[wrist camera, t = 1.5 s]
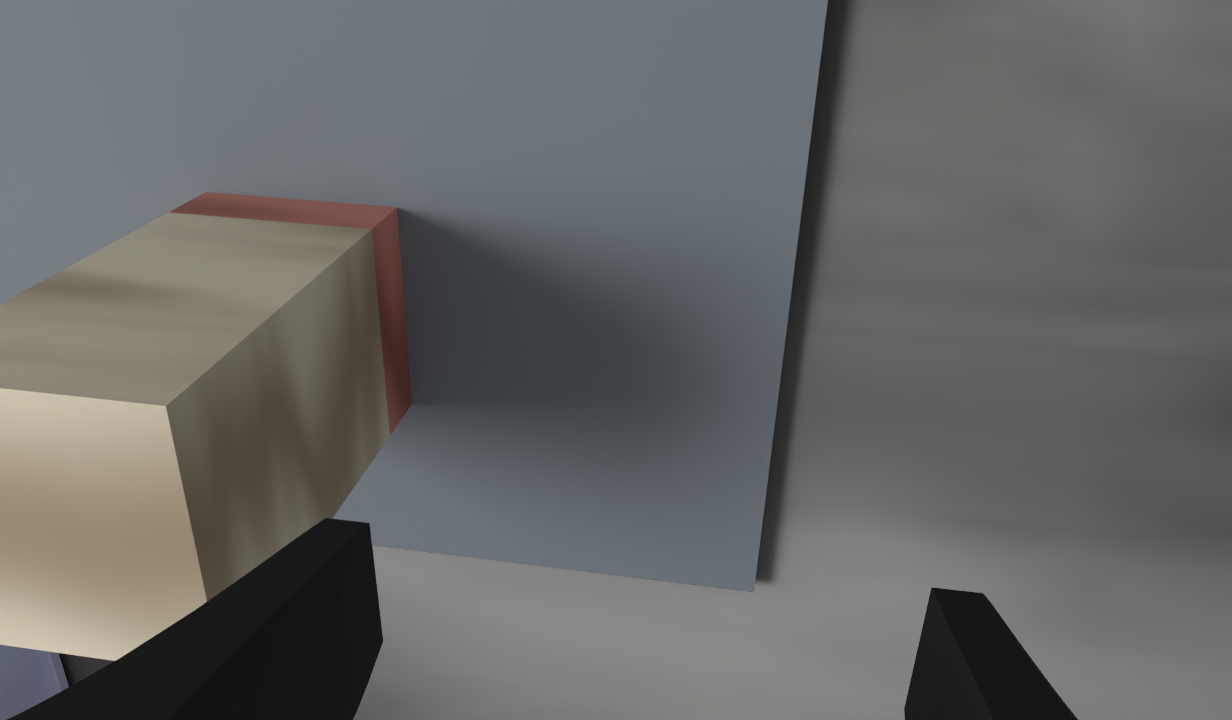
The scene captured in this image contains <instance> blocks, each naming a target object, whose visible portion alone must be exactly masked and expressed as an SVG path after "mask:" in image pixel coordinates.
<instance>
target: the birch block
mask: <svg viewBox="0 0 1232 720" xmlns="http://www.w3.org/2000/svg"><path fill="white" fill-rule="evenodd" d="M411 405H412V399H411V386H410V373H409V359H408V346H407V333H406V320H405V306H404V293H403V280H402V267H401V254H400V240H399V227H398V214H397V207H388V206H375V205H363V204H350V203H337V202H325V201H312V200H299V199H287V198H274V197H262V196H249V195H236V194H224V193H211V192H205V193H203V194H201V195H199V196H198V197H196V198H194V199H192V200H190V201H188V202H187V203H185V204H183V205H181V206H179V207H177V208H176V209H174V210H172V211H170V212H168V213H166V214H164V215H163V216H161V217H159V218H157V219H155V220H153V221H152V222H150V223H148V224H146V225H144V226H142V227H141V228H139V229H137V230H135V231H133V232H131V233H130V234H128V235H126V236H124V237H122V238H120V239H119V240H117V241H115V242H113V243H111V244H109V245H108V246H106V247H104V248H102V249H100V250H98V251H97V252H95V253H93V254H91V255H89V256H87V257H86V258H84V259H82V260H80V261H78V262H76V263H75V264H73V265H71V266H69V267H67V268H65V269H63V270H62V271H60V272H58V273H56V274H54V275H52V276H51V277H49V278H47V279H45V280H43V281H41V282H40V283H38V284H36V285H34V286H32V287H30V288H29V289H27V290H25V291H23V292H21V293H19V294H18V295H16V296H14V297H12V298H10V299H8V300H7V301H5V302H3V303H1V304H0V645H7V646H14V647H21V648H28V649H35V650H42V651H49V652H56V653H63V654H70V655H77V656H84V657H91V658H98V659H105V660H112V661H116V660H118V659H119V658H121V657H123V656H124V655H126V654H127V653H129V652H130V651H132V650H134V649H135V648H137V647H138V646H140V645H141V644H143V643H144V642H146V641H148V640H149V639H151V638H152V637H154V636H155V635H157V634H158V633H160V632H162V631H163V630H165V629H166V628H168V627H169V626H171V625H172V624H174V623H176V622H177V621H179V620H180V619H182V618H183V617H185V616H186V615H188V614H190V613H191V612H193V611H194V610H196V609H197V608H199V607H200V606H202V605H203V604H204V603H206V602H207V601H209V600H210V599H212V598H213V597H214V596H216V595H217V594H219V593H220V592H222V591H223V590H224V589H226V588H227V587H229V586H230V585H232V584H233V583H234V582H236V581H237V580H239V579H240V578H242V577H243V576H244V575H246V574H247V573H249V572H250V571H251V570H253V569H254V568H256V567H257V566H258V565H260V564H261V563H263V562H264V561H265V560H267V559H268V558H270V557H271V556H272V555H274V554H275V553H276V552H278V551H279V550H281V549H282V548H283V547H285V546H286V545H288V544H289V543H290V542H292V541H293V540H294V539H296V538H297V537H299V536H300V535H301V534H303V533H304V532H306V531H307V530H309V529H310V528H311V527H313V526H314V525H316V524H317V523H319V522H320V521H322V520H324V519H325V518H331V519H333V517H334V516H335V514H336V513H337V511H338V510H339V509H340V507H341V506H342V504H343V503H344V501H345V500H346V498H347V497H348V496H349V494H350V493H351V491H352V490H353V488H354V487H355V485H356V484H357V483H358V481H359V480H360V478H361V477H362V475H363V474H364V473H365V471H366V470H367V468H368V467H369V465H370V464H371V462H372V461H373V460H374V458H375V457H376V455H377V454H378V452H379V451H380V450H381V448H382V447H383V445H384V444H385V442H386V441H387V439H388V438H389V437H390V435H391V434H392V432H393V431H394V429H395V428H396V426H397V425H398V424H399V422H400V421H401V419H402V418H403V416H404V415H405V414H406V412H407V411H408V409H409V408H410V406H411Z"/></svg>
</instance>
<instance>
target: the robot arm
mask: <svg viewBox="0 0 1232 720" xmlns="http://www.w3.org/2000/svg"><path fill="white" fill-rule="evenodd" d="M382 643H383V637H382V628H381V619H380V610H379V602H378V593H377V584H376V575H375V567H374V558H373V549H372V540H371V531H370V523H365V522H357V521H348V520H339V519H331V518H325V519H324V520H322V521H320V522H319V523H317V524H316V525H314V526H313V527H311V528H310V529H309V530H307V531H306V532H304V533H303V534H301V535H300V536H299V537H297V538H296V539H294V540H293V541H292V542H290V543H289V544H288V545H286V546H285V547H283V548H282V549H281V550H279V551H278V552H276V553H275V554H274V555H272V556H271V557H270V558H268V559H267V560H265V561H264V562H263V563H261V564H260V565H258V566H257V567H256V568H254V569H253V570H251V571H250V572H249V573H247V574H246V575H244V576H243V577H242V578H240V579H239V580H237V581H236V582H234V583H233V584H232V585H230V586H229V587H227V588H226V589H224V590H223V591H222V592H220V593H219V594H217V595H216V596H214V597H213V598H212V599H210V600H209V601H207V602H206V603H204V604H203V605H202V606H200V607H199V608H197V609H196V610H194V611H193V612H191V613H190V614H188V615H186V616H185V617H183V618H182V619H180V620H179V621H177V622H176V623H174V624H172V625H171V626H169V627H168V628H166V629H165V630H163V631H162V632H160V633H158V634H157V635H155V636H154V637H152V638H151V639H149V640H148V641H146V642H144V643H143V644H141V645H140V646H138V647H137V648H135V649H134V650H132V651H130V652H129V653H127V654H126V655H124V656H123V657H121V658H119V659H118V660H116V661H114V662H112V663H111V664H109V665H107V666H106V667H104V668H102V669H101V670H99V671H97V672H95V673H94V674H92V675H90V676H88V677H87V678H85V679H83V680H81V681H80V682H78V683H76V684H74V685H72V686H70V687H69V685H68V682H67V679H66V676H65V672H64V669H63V666H62V663H61V660H60V656H59V653H56V652H49V651H42V650H35V649H28V648H21V647H14V646H7V645H0V720H353V718H354V716H355V714H356V712H357V709H358V707H359V704H360V702H361V699H362V697H363V694H364V691H365V689H366V686H367V684H368V681H369V679H370V676H371V673H372V670H373V667H374V665H375V662H376V659H377V656H378V654H379V651H380V648H381V645H382ZM904 711H905V720H1078V719H1077V718H1076V717H1075V715H1074V714H1073V713H1072V712H1071V710H1070V709H1069V708H1068V707H1067V705H1066V704H1065V703H1064V702H1063V700H1062V699H1061V698H1060V696H1059V695H1058V694H1057V693H1056V691H1055V690H1054V689H1053V687H1052V686H1051V685H1050V683H1049V682H1048V681H1047V679H1046V678H1045V677H1044V675H1043V674H1042V673H1041V671H1040V670H1039V669H1038V667H1037V666H1036V665H1035V663H1034V662H1033V660H1032V659H1031V658H1030V656H1029V655H1028V654H1027V652H1026V651H1025V650H1024V648H1023V647H1022V645H1021V644H1020V643H1019V641H1018V640H1017V639H1016V637H1015V636H1014V634H1013V633H1012V632H1011V630H1010V629H1009V627H1008V626H1007V625H1006V623H1005V622H1004V620H1003V619H1002V618H1001V616H1000V615H999V613H998V612H997V611H996V609H995V608H994V607H993V605H992V604H991V602H990V601H989V600H988V599H987V597H986V596H985V595H984V594H983V593H975V592H966V591H957V590H949V589H940V588H931V593H930V597H929V602H928V606H927V610H926V615H925V619H924V624H923V628H922V633H921V637H920V642H919V646H918V651H917V655H916V660H915V664H914V668H913V673H912V677H911V682H910V686H909V691H908V695H907V700H906V704H905V709H904Z"/></svg>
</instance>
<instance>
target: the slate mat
mask: <svg viewBox="0 0 1232 720" xmlns="http://www.w3.org/2000/svg"><path fill="white" fill-rule="evenodd" d="M827 4H828V0H0V304H1V303H3V302H5V301H7V300H8V299H10V298H12V297H14V296H16V295H18V294H19V293H21V292H23V291H25V290H27V289H29V288H30V287H32V286H34V285H36V284H38V283H40V282H41V281H43V280H45V279H47V278H49V277H51V276H52V275H54V274H56V273H58V272H60V271H62V270H63V269H65V268H67V267H69V266H71V265H73V264H75V263H76V262H78V261H80V260H82V259H84V258H86V257H87V256H89V255H91V254H93V253H95V252H97V251H98V250H100V249H102V248H104V247H106V246H108V245H109V244H111V243H113V242H115V241H117V240H119V239H120V238H122V237H124V236H126V235H128V234H130V233H131V232H133V231H135V230H137V229H139V228H141V227H142V226H144V225H146V224H148V223H150V222H152V221H153V220H155V219H157V218H159V217H161V216H163V215H164V214H166V213H168V212H170V211H172V210H174V209H176V208H177V207H179V206H181V205H183V204H185V203H187V202H188V201H190V200H192V199H194V198H196V197H198V196H199V195H201V194H203V193H205V192H211V193H224V194H236V195H249V196H262V197H274V198H287V199H299V200H312V201H325V202H337V203H350V204H363V205H375V206H388V207H397V214H398V227H399V240H400V254H401V267H402V280H403V293H404V306H405V320H406V333H407V346H408V359H409V373H410V386H411V399H412V405H411V406H410V408H409V409H408V411H407V412H406V414H405V415H404V416H403V418H402V419H401V421H400V422H399V424H398V425H397V426H396V428H395V429H394V431H393V432H392V434H391V435H390V437H389V438H388V439H387V441H386V442H385V444H384V445H383V447H382V448H381V450H380V451H379V452H378V454H377V455H376V457H375V458H374V460H373V461H372V462H371V464H370V465H369V467H368V468H367V470H366V471H365V473H364V474H363V475H362V477H361V478H360V480H359V481H358V483H357V484H356V485H355V487H354V488H353V490H352V491H351V493H350V494H349V496H348V497H347V498H346V500H345V501H344V503H343V504H342V506H341V507H340V509H339V510H338V511H337V513H336V514H335V516H334V517H333V519H339V520H348V521H357V522H365V523H370V531H371V540H372V545H374V546H383V547H391V548H399V549H407V550H415V551H423V552H431V553H439V554H448V555H456V556H464V557H472V558H480V559H488V560H496V561H504V562H513V563H521V564H529V565H537V566H545V567H553V568H561V569H569V570H577V571H586V572H594V573H602V574H610V575H618V576H626V577H634V578H642V579H651V580H659V581H667V582H675V583H683V584H691V585H699V586H707V587H716V588H724V589H732V590H740V591H748V592H754V587H755V579H756V571H757V563H758V555H759V547H760V539H761V531H762V523H763V515H764V507H765V499H766V491H767V483H768V475H769V467H770V459H771V451H772V443H773V435H774V427H775V419H776V411H777V403H778V395H779V387H780V380H781V372H782V364H783V356H784V348H785V340H786V332H787V324H788V316H789V308H790V300H791V292H792V284H793V276H794V268H795V260H796V252H797V244H798V236H799V228H800V220H801V212H802V204H803V196H804V188H805V180H806V172H807V164H808V156H809V148H810V140H811V132H812V124H813V116H814V108H815V100H816V92H817V84H818V76H819V68H820V60H821V52H822V44H823V36H824V28H825V20H826V12H827Z"/></svg>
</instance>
